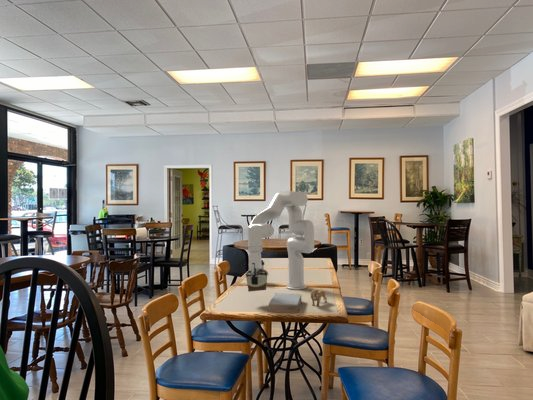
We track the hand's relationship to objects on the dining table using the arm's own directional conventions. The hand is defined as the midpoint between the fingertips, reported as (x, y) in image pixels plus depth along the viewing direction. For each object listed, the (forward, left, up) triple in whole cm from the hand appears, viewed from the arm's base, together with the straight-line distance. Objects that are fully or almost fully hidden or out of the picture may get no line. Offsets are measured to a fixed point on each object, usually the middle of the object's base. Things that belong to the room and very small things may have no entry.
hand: (256, 282), depth 182 cm
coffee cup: (-49, -11, -12) cm, 52 cm away
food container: (-2, 0, -4) cm, 4 cm away
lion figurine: (-4, +32, -12) cm, 35 cm away
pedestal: (+2, +16, -11) cm, 20 cm away
